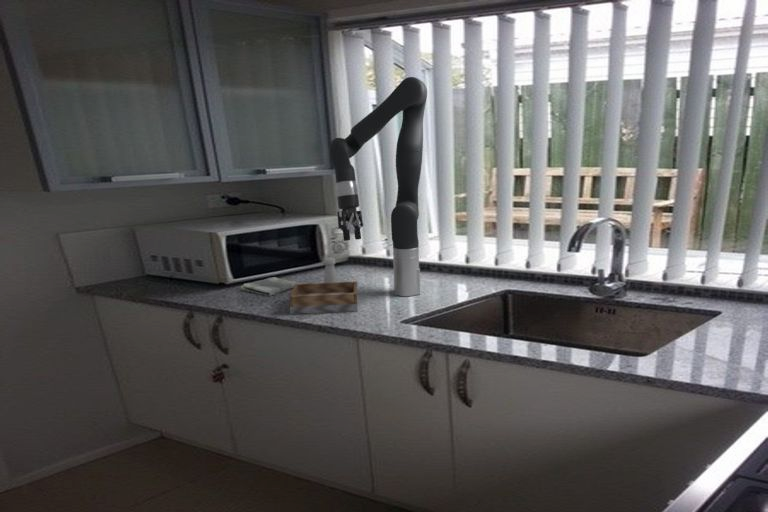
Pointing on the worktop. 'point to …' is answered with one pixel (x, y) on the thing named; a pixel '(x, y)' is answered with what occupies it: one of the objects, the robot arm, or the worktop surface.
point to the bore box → (324, 297)
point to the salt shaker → (329, 271)
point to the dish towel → (269, 286)
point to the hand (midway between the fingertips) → (352, 239)
